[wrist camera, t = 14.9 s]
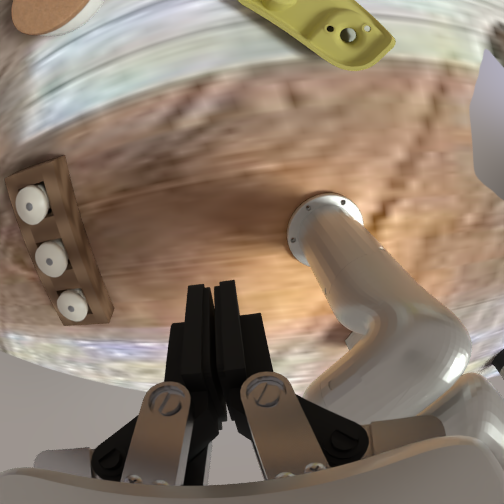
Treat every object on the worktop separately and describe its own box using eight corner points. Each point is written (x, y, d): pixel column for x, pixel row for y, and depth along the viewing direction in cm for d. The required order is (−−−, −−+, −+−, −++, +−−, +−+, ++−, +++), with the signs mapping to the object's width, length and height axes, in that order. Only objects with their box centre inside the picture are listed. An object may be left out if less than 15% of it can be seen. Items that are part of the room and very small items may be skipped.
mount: (17, 171, 35) (4, 178, 31) (64, 155, 35) (52, 161, 32) (70, 311, 49) (63, 325, 45) (114, 308, 49) (109, 323, 46)
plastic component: (227, -4, 26) (273, -58, 19) (241, -3, 31) (281, -49, 24) (353, 84, 32) (404, 37, 25) (349, 73, 37) (392, 32, 30)
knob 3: (100, 291, 47) (91, 311, 42) (85, 307, 48) (76, 326, 43) (76, 271, 44) (65, 289, 40) (62, 288, 46) (51, 306, 41)
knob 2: (82, 246, 42) (70, 263, 38) (67, 266, 44) (54, 283, 39) (58, 223, 40) (43, 238, 35) (44, 244, 41) (29, 260, 36)
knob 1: (66, 193, 38) (50, 206, 33) (49, 217, 39) (33, 232, 34) (43, 169, 35) (25, 179, 31) (27, 195, 37) (10, 207, 32)
